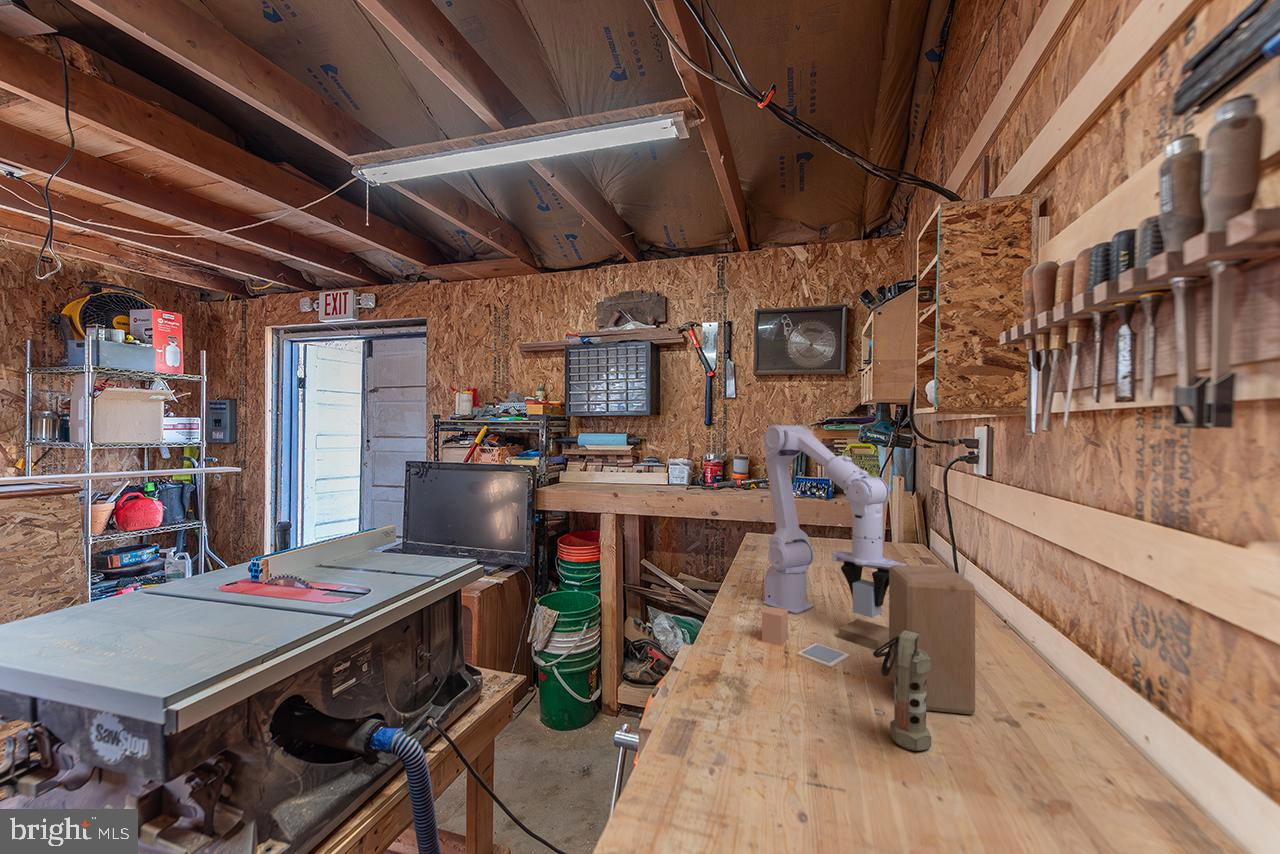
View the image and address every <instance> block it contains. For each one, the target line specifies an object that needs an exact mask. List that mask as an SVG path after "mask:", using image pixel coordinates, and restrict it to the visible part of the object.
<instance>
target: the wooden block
mask: <svg viewBox="0 0 1280 854" xmlns="http://www.w3.org/2000/svg"><path fill="white" fill-rule="evenodd" d="M888 621H889V622H888V625H889V626H888V628H889V641H890V640H891V639H893V638H895V637H896V636H897V637H898V636H900V634H901V633H902V632H903V631H904V630H906V631H907V630H911V631H915V632H918V633H919V634H920V635H919V637H918V644H917V649H919V650H922V651H924V652H926V653H927V654H928V656H929V657H930V659H931V670H930V671H929V672H927V673H926V711H934V712H942V713H945V712H946V713H954V714H962V715H972V714H975V711H976V586H975V585H974V583H973V582H971V581H970V580H968V579H967V578H965V577H963V576H962V575H961V574H960V573H958V572H956V571H955V570H953V569H951V568H949V567H944V566H925V565H924V566H922V565H907V564H906V565H893V566H891V567H890V569H889V586H888ZM895 641H896V640H894V641H893V642H895ZM891 643H892V642H891ZM891 643H890V644H891ZM893 647H894V645H893V646H892V648H893ZM890 665H891V659H890V658H889V661H888V666H889V667H890ZM888 676H889V679H890V682H891V683H892V685H893V686H894V666H893V667H892V669H891V671H890V673H889V674H888Z"/></svg>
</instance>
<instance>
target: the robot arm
mask: <svg viewBox="0 0 1280 854" xmlns="http://www.w3.org/2000/svg"><path fill="white" fill-rule="evenodd" d="M762 439H763V445H764V447H763V448H764V452H765V466H766V472H767V478H768V483H769V485H768V486H769V491H770V496H771V497H770V498H771V505H772V510H773V517H774V523H775V528H776V529H775V532H774V533H773V534H772V535H771V536H769V538H768V543H769V547H768V548H769V549H768V553H767V554H768V559H769V563H770V566H769V567H768V568H767V570H766V571H765V576H764V600H763V601H762V603H763V604H764V605H767V606H769V607H774V608H779V609H784V610H788V613H789V612H790V613H792V614H797V615H798V614H800V613H801V612H804V611H806V610H808V609H810V608H814V607H815V604H814V603H812V602H811V603H810V602H807V601H808V600H807V597H808V596H807V592H808V591H807V588H808V587H807V584H808V583H807V581H808V580H807V572H808V571H809V569H810V565H811V564H813V562H814V559H815V553H814V548H813V547H812V545H811V543H810V540H809V535H808V534H807V533H806V532H804V531H803V530H802V529H801V528H800V525H799V519H798V514H797V513H798V512H797V507H796V500H795V495H794V494H795V493H794V489H793V487H794V486H793V482H792V476H791V471H790V464H791V462H792V461H793V460H794V459H795V458H796V457H798V456H799V455H800V454H801V453H804V454H806V455H807V456H809V457H810V458H811V459H812V460H813V461H816V462H817V463H818V464H819V465H821V466H822V467H824V471H825V475H826V477H827V478H829V479H830V480H831V481H832V482H833V483H834V484H836V486H838V488H840V489H842V491H844V492H845V497H846V499H847V501H848V503H849V505H850V512H851V514H852V515H851V516H852V517H851V518H852V519H851V520H852V526H851V527H852V533H851V534H852V537H851V538H852V541H851V542H852V544H851V548H852V550H851V551H852V552H848V551H840V550H834V551H831V561H832V562H835V563H838V562H841V563H843V565H841V566H840V571H841V572H842V573H843V576H844V577H845V579H846V582H847V584H848V586H849V589H850V594H851V597H852V598H851V599H852V600H853V583H854V582H857V581H859V580H862V574H863V568H869V569H874V570H875V571H873V572H871V577H872V580H873V581H872V582H874V588H875V606H876V607H880V606H881V607H882V606H883V605H884V601H885V596H886V593H887V590H888V589H889V569H890V567H891V566H893V565H907V563H903V562H899V561H895V560H893V559H888V558H885V557H884V541H883V540H884V539H883V537H884V523H883V522H884V518H883V517H884V513H883V511H884V509H883V507H884V505H883V504H885V503H886V502H887V501H888V499H889V496H890V489H889V486H888V484H887V483H886V482H885V480H883V478H882V477H880V476H871V475H869V472H868V471H866V470H863V469H862V468H860V467H859V466H858V465H856V464H855V463H854V462H853V458H851V457H850V456H845V455H837V456H836V455H835V453H833V452H832V451H831V450H830V449H829V448H827V447H826V446H825V445H824V444H823V443H822V442H821V441H820V440H819V439H817V438H816V436H814V433H813V430H811V429H809V428H808V427H806V426H805V425H803V424H798V425H797V424H796V425H791V424H788V425H787V424H786V425H785V424H783V425H780V424H771V425H770V426H768V428H767V429H766V431H765V433H764V435H763V436H762Z"/></svg>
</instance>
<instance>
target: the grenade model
mask: <svg viewBox="0 0 1280 854" xmlns="http://www.w3.org/2000/svg"><path fill="white" fill-rule="evenodd" d="M919 635H920V634H919V633H918V632H915V631H911V630H907V631H906V630H904V631H903V632H902V633H901V634H900V636H898V637H897V636H896V637H895V638H893V639H891V640H890V641H888V642H887V643H885V644H884V645H883V646H881V647H880V648H878V649H877V650H874V651H873V653H872V655H873V657H874V658H875V659H878V658H882V657H884V659H883V662H882V663H881V664H882V665H881V669H880V670H881V671H880V672H881V675H882V676H884V677H887V676H889V673H890V671H891V669H892V667H893V666H894V685H893V687H894V688H893V689H894V694H893V695H894V697H893V698H894V704H893V705H894V712H893V714H894V715H893V717H894V718H893V720H892V721H890V722H889V724H890V725H889V728H890V730H889V732H890V736H891V738H892V740H893V742H895V744H897V745H898V746H900V747H901V748H903V749H905V750H908V751H912V752H922V751H925V750H928V749H930V748H931V747H932V736H931V733H930V731H929V729H928V728H927V710H926V673H927V672H929V671H930V670H931V659H930V657H929V656H928V654H927V653H926V652H924V651H922V650H919V649H917V644H918V637H919ZM894 640H896V641H895V642H893V641H894ZM891 642H892V643H891ZM890 643H891V644H890ZM888 644H889V645H888ZM893 645H894V647H893V648H892V646H893ZM885 646H886V647H885ZM885 650H887V651H885ZM889 658H890V659H891V665H890V667H889Z"/></svg>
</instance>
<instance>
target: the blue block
mask: <svg viewBox="0 0 1280 854" xmlns="http://www.w3.org/2000/svg"><path fill="white" fill-rule="evenodd" d="M852 613H854V614H857V615H859V616H860V615H861V616H863V617H869V618H870V619H871V618H872V619H873V618H875V617H877V616H879V615H880V614H882V606H880V607H876V606H875V588H874V581H871V580H867V579H862V578H861V580H859V581H857V582H854V583H853V599H852Z"/></svg>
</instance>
